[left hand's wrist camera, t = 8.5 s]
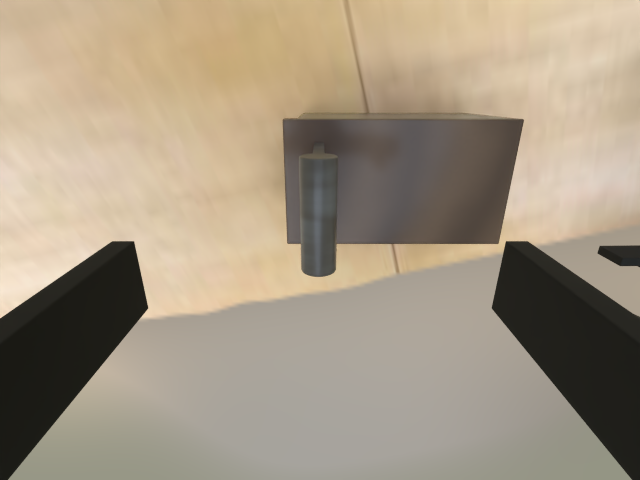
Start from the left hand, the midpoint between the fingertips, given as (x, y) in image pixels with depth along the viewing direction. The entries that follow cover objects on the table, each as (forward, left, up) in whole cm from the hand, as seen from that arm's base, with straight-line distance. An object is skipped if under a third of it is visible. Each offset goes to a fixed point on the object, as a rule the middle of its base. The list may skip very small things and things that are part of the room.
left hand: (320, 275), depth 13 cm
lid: (+5, +2, -15) cm, 16 cm away
